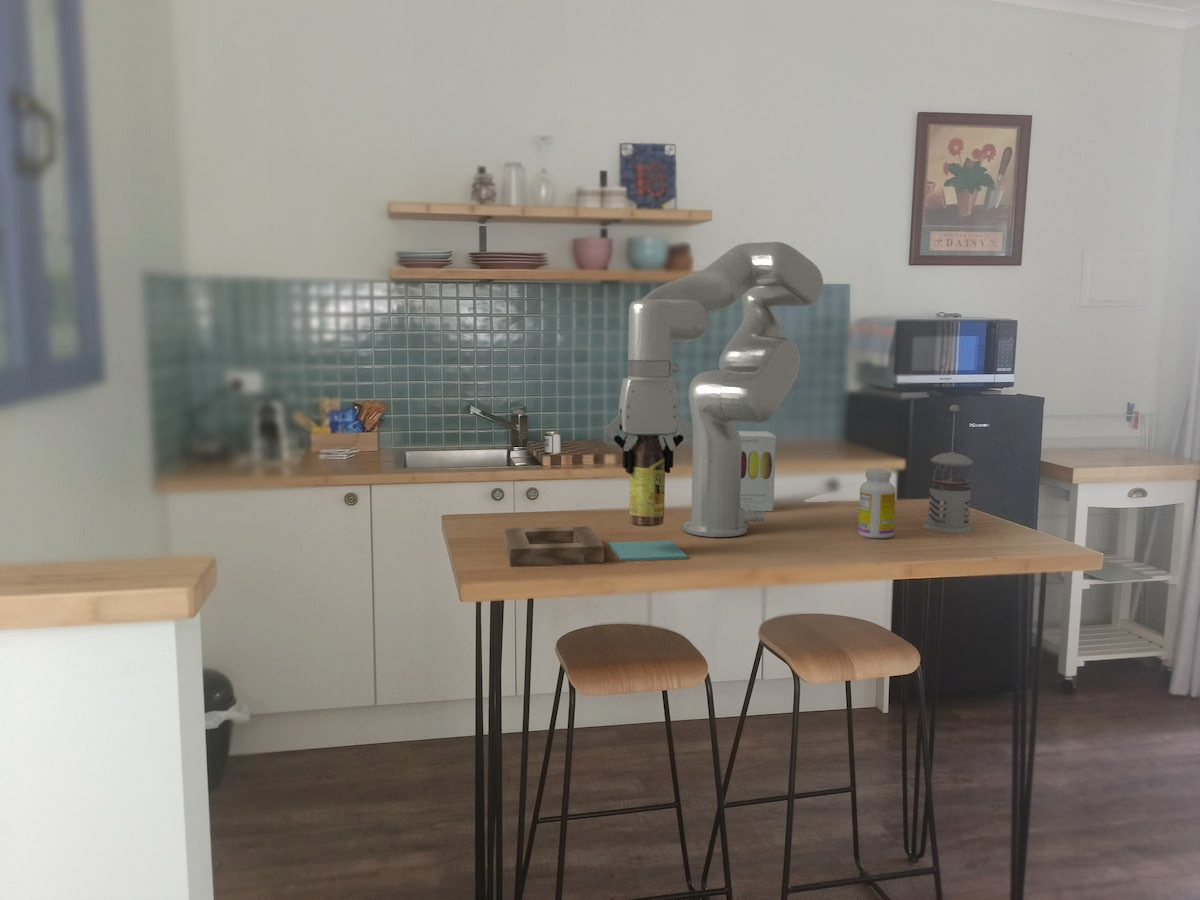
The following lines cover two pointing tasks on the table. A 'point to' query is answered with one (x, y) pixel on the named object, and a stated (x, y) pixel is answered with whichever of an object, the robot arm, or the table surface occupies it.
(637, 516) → the sauce bottle
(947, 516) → the french press
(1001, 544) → the table surface
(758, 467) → the supplement box
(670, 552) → the teal mat
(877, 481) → the supplement bottle
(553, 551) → the pocket block
